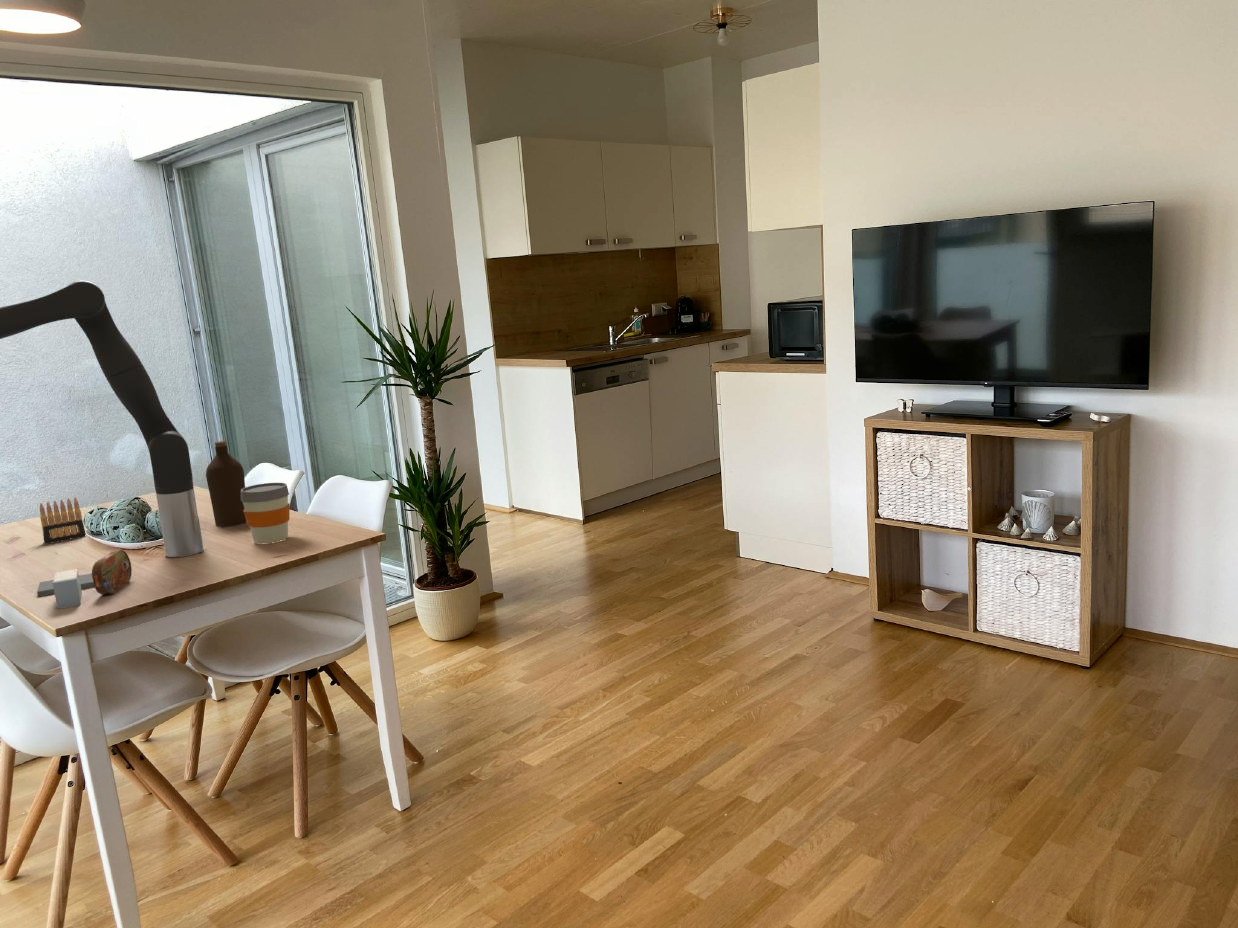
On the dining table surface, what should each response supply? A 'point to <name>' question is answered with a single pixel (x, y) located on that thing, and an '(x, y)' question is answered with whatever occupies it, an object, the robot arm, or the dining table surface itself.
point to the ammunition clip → (61, 522)
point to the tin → (111, 572)
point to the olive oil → (226, 487)
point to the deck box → (67, 588)
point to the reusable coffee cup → (266, 511)
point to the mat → (48, 589)
